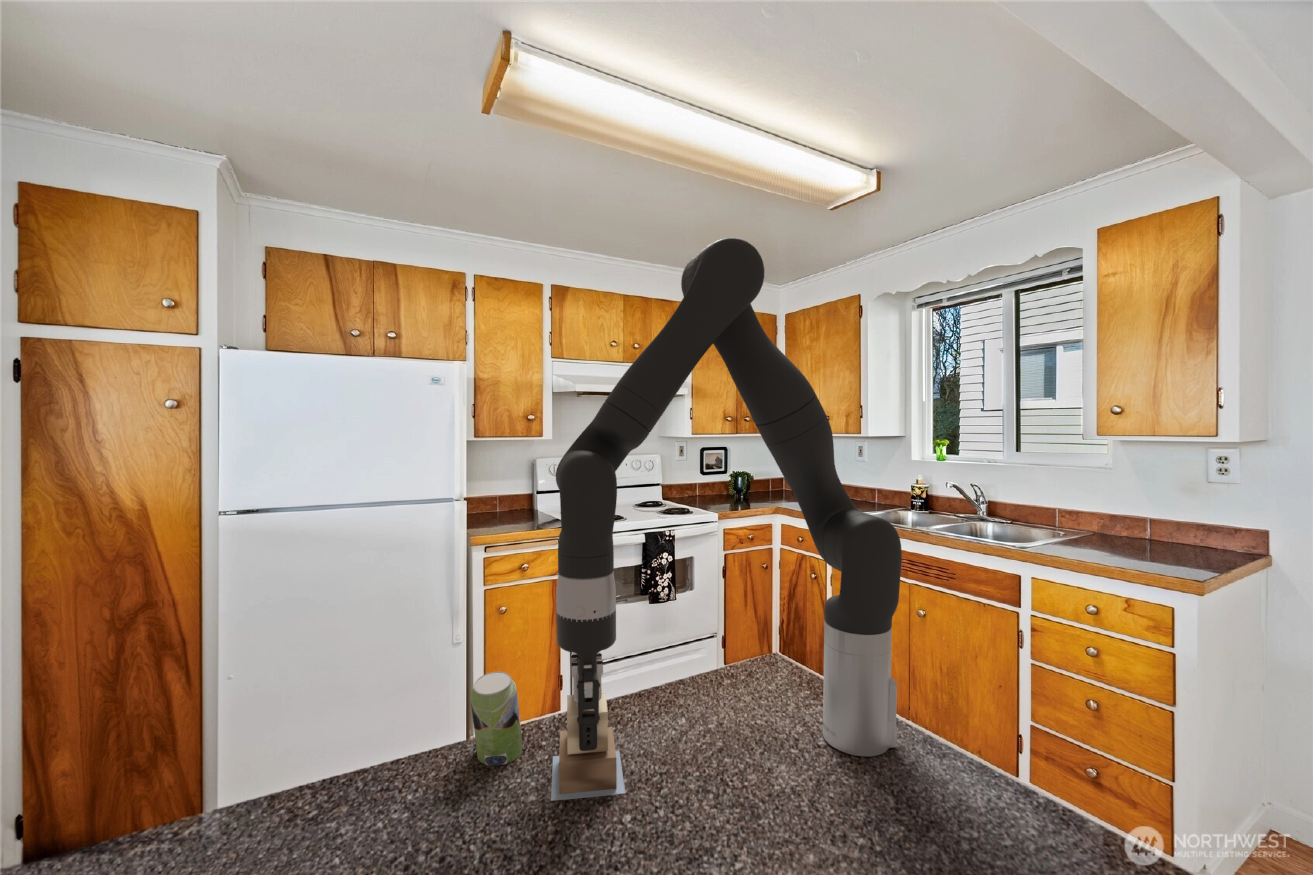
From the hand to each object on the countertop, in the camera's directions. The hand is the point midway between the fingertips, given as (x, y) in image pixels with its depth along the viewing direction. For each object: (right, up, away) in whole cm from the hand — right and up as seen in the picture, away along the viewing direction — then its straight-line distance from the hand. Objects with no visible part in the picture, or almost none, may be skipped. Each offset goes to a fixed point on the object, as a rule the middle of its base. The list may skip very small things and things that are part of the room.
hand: (587, 735), depth 75 cm
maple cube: (0, -1, 0) cm, 1 cm away
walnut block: (0, -5, 0) cm, 5 cm away
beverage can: (-13, -6, +4) cm, 15 cm away
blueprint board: (+1, -6, 0) cm, 6 cm away
